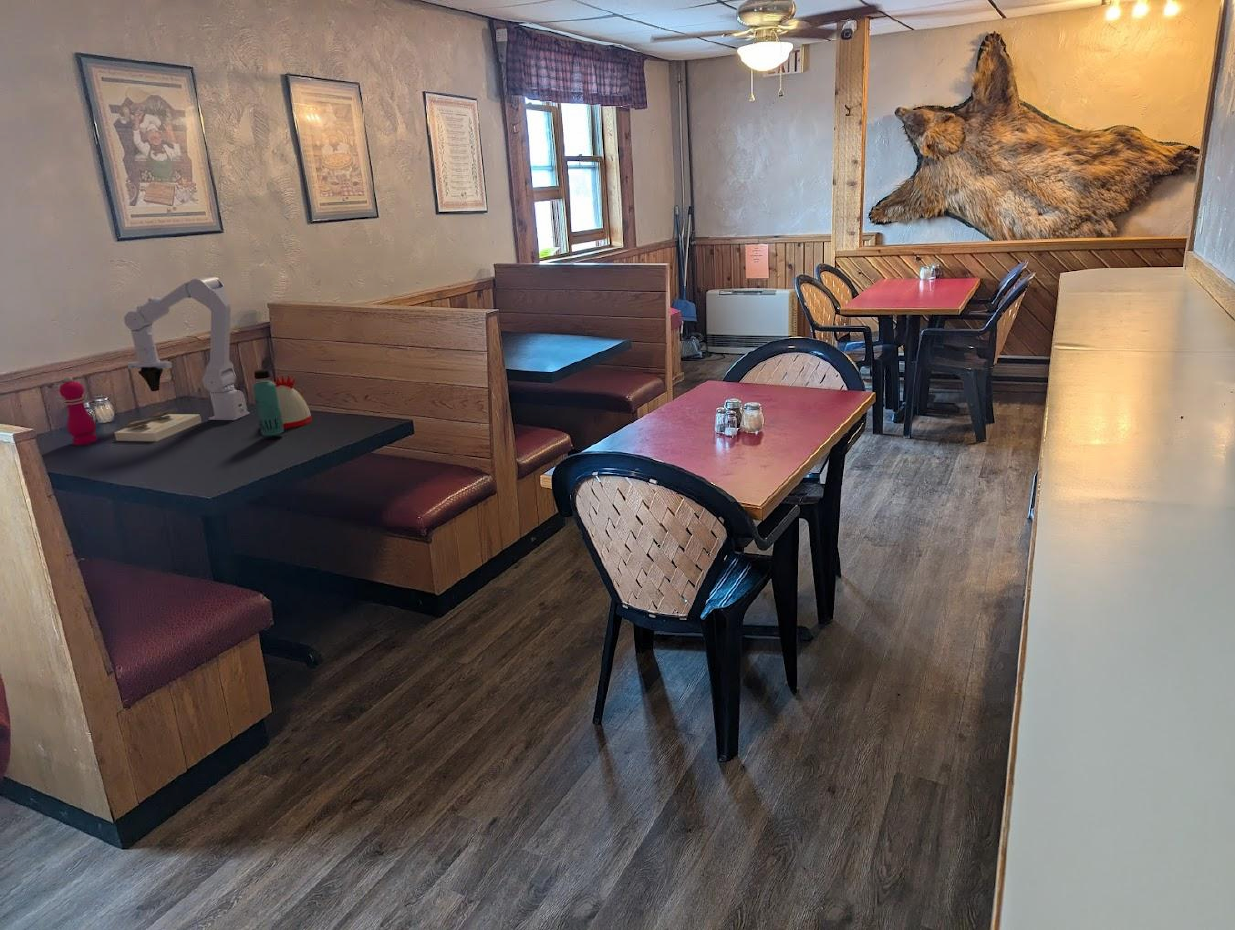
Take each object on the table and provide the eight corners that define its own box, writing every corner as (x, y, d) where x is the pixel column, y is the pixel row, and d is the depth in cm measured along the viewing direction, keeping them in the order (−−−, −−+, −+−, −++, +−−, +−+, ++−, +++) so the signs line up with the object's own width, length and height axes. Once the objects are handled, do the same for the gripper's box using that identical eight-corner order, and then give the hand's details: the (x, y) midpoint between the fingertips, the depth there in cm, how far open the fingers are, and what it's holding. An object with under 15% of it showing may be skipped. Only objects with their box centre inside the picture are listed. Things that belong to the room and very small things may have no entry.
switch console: (201, 422, 269) (199, 412, 268) (156, 441, 251) (154, 431, 250) (163, 421, 272) (161, 412, 271) (116, 440, 254) (113, 430, 253)
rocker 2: (178, 410, 266) (176, 407, 266) (169, 413, 262) (167, 410, 262) (161, 416, 268) (159, 413, 268) (152, 420, 265) (150, 416, 264)
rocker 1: (155, 420, 257) (154, 416, 257) (146, 424, 253) (144, 420, 253) (137, 424, 259) (135, 421, 259) (127, 428, 255) (126, 425, 255)
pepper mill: (86, 446, 250) (68, 379, 243) (65, 445, 251) (47, 379, 245) (105, 438, 257) (88, 373, 250) (84, 438, 258) (67, 373, 252)
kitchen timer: (311, 425, 259) (302, 377, 254) (262, 431, 255) (253, 382, 251) (311, 414, 272) (303, 368, 267) (265, 420, 268) (256, 373, 263)
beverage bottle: (278, 432, 253) (265, 366, 247) (290, 436, 249) (277, 368, 243) (257, 438, 248) (244, 371, 242) (269, 441, 244) (256, 373, 238)
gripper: (174, 345, 270) (183, 387, 275) (135, 346, 274) (145, 387, 278) (158, 350, 264) (168, 393, 268) (118, 350, 267) (129, 392, 271)
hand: (155, 390), depth 273 cm, fingers closed
